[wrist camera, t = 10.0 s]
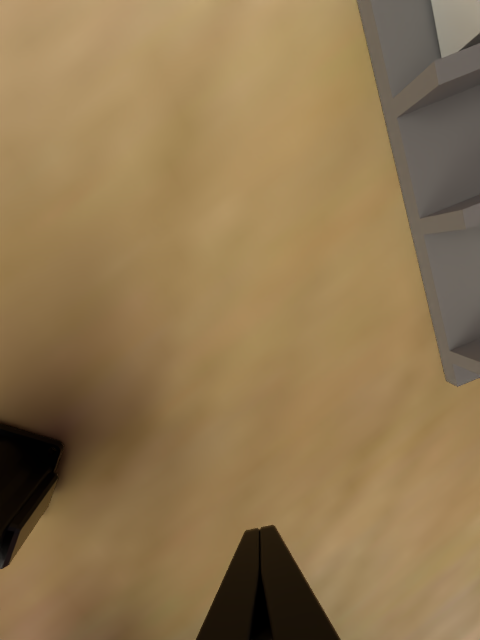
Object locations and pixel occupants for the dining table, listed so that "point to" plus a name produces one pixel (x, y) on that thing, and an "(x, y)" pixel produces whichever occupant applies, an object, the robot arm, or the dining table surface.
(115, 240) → the dining table surface
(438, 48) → the grey compartment tray
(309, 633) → the robot arm
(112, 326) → the dining table surface
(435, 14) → the white box
